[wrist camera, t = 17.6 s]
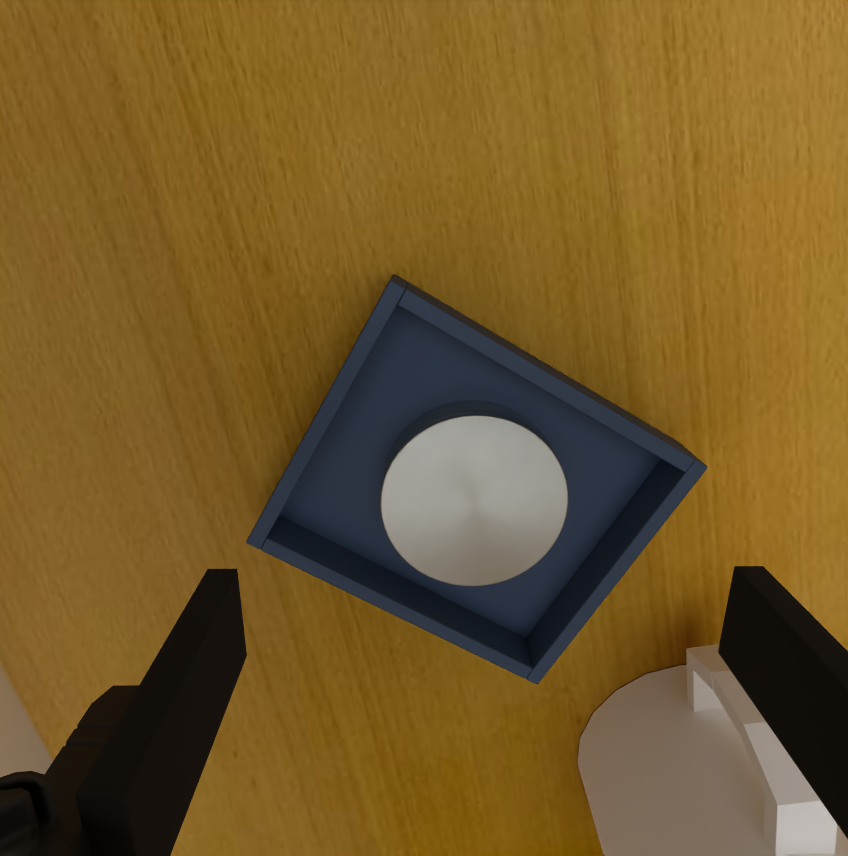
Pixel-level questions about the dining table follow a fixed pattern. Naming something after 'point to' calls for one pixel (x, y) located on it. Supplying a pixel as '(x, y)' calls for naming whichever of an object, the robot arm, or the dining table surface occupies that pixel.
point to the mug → (697, 771)
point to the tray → (450, 383)
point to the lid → (473, 494)
